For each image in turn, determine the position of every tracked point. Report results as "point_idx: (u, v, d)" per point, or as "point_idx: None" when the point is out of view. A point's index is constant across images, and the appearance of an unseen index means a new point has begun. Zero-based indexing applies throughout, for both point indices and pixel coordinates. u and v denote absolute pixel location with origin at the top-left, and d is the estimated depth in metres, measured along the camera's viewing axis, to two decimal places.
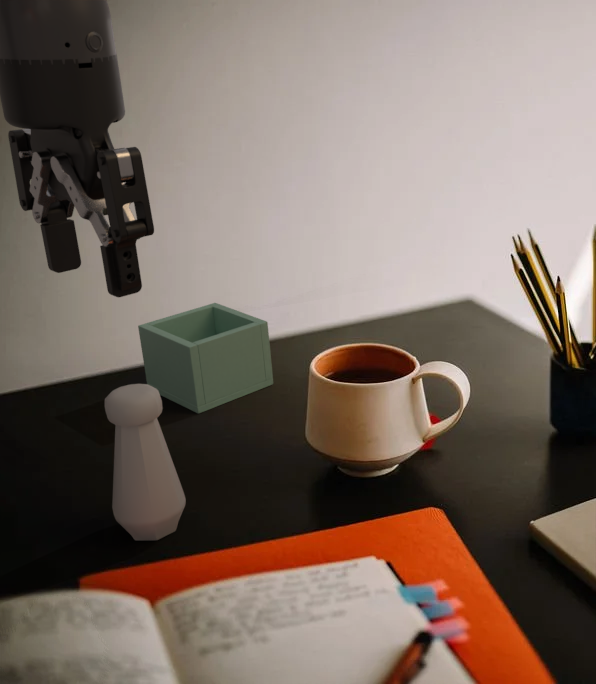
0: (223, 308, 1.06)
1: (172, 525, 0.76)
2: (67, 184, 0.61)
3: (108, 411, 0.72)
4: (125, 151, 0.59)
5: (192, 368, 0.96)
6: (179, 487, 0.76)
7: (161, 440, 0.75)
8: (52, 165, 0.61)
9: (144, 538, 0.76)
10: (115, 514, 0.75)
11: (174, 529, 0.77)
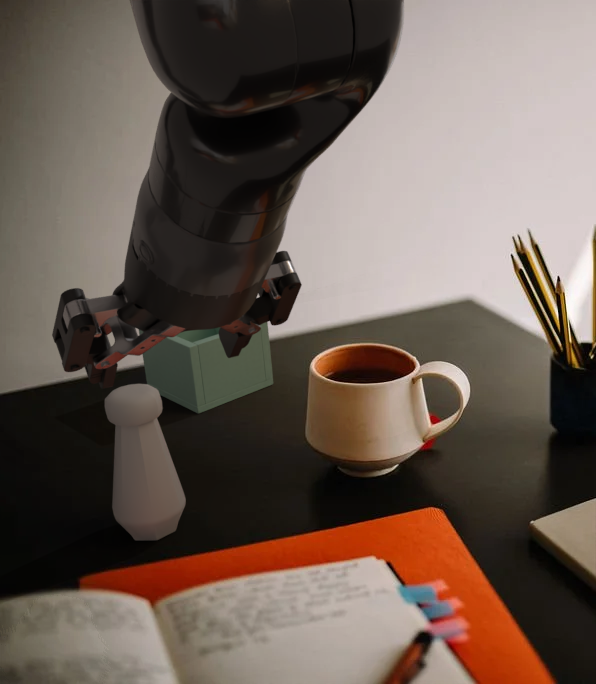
0: None
1: (172, 525, 0.76)
2: None
3: (108, 411, 0.72)
4: (73, 313, 0.50)
5: (192, 368, 0.96)
6: (179, 487, 0.76)
7: (161, 440, 0.75)
8: None
9: (144, 538, 0.76)
10: (115, 514, 0.75)
11: (174, 529, 0.77)
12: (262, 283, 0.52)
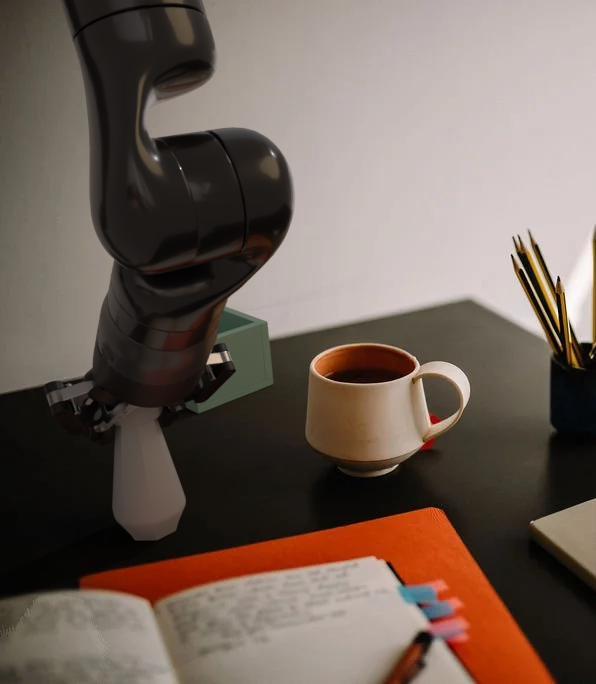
0: None
1: (172, 525, 0.76)
2: None
3: None
4: (51, 402, 0.64)
5: None
6: (179, 487, 0.76)
7: (161, 440, 0.75)
8: None
9: (144, 538, 0.76)
10: (115, 514, 0.75)
11: (174, 529, 0.77)
12: (203, 370, 0.65)
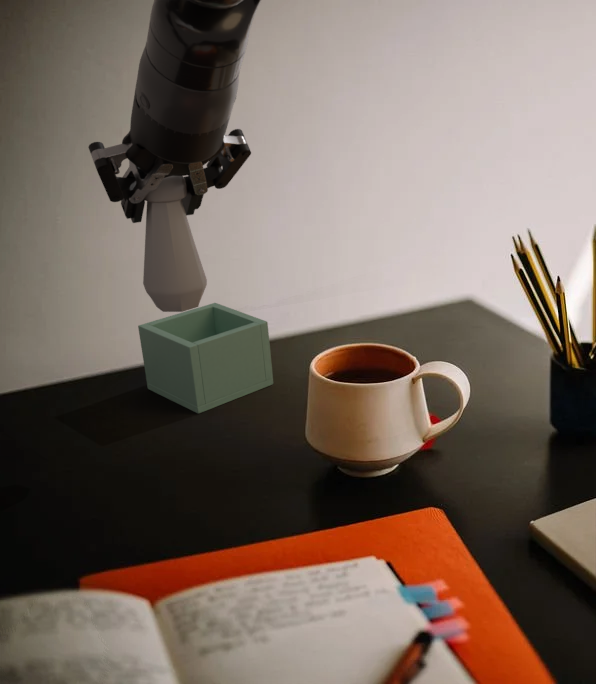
0: (223, 308, 1.06)
1: (195, 300, 0.88)
2: None
3: None
4: (95, 158, 0.76)
5: (192, 368, 0.96)
6: (201, 267, 0.88)
7: (186, 221, 0.86)
8: None
9: (171, 309, 0.87)
10: (146, 286, 0.86)
11: (197, 305, 0.88)
12: (224, 132, 0.76)
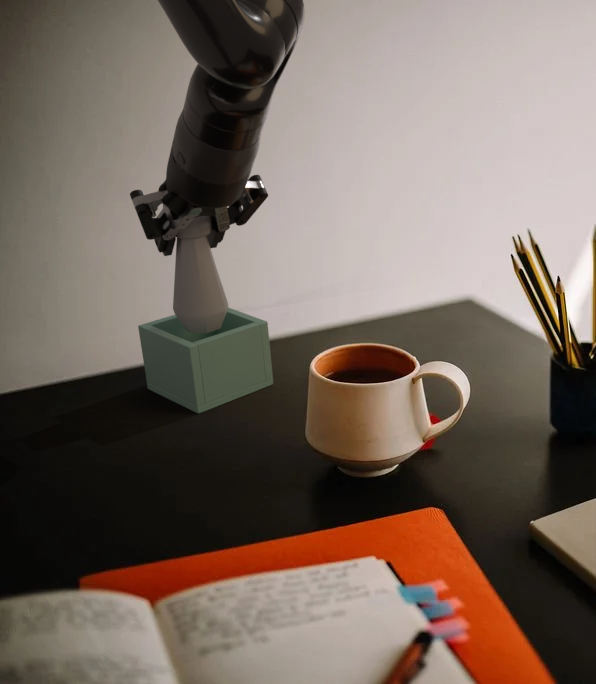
0: None
1: (218, 322, 1.00)
2: None
3: None
4: (136, 204, 0.88)
5: (192, 368, 0.96)
6: (223, 293, 1.00)
7: (210, 254, 0.98)
8: None
9: (197, 331, 0.99)
10: (176, 311, 0.99)
11: (220, 326, 1.01)
12: (246, 181, 0.89)
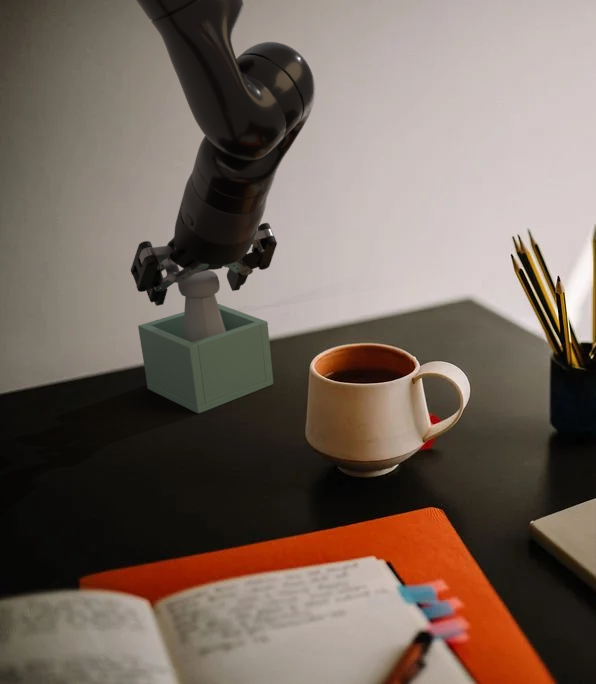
0: (223, 308, 1.06)
1: None
2: None
3: (181, 286, 0.98)
4: (146, 255, 0.89)
5: (192, 368, 0.96)
6: None
7: (218, 311, 1.01)
8: None
9: None
10: None
11: None
12: (253, 239, 0.91)
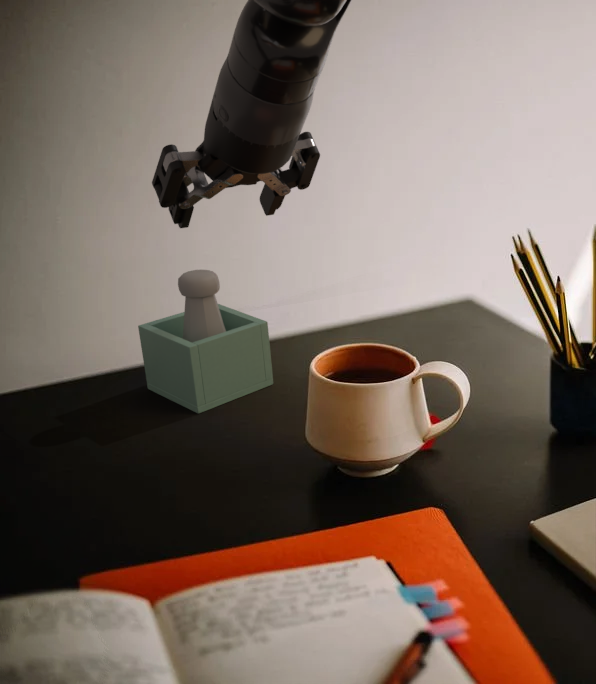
0: (223, 308, 1.06)
1: None
2: None
3: (181, 286, 0.98)
4: (171, 160, 0.76)
5: (192, 368, 0.96)
6: None
7: (218, 311, 1.01)
8: None
9: None
10: None
11: None
12: (295, 144, 0.78)
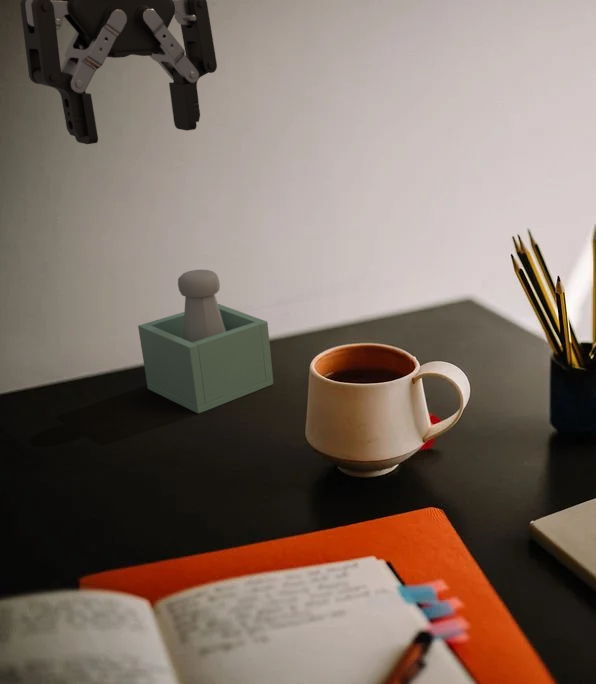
0: (223, 308, 1.06)
1: None
2: None
3: (181, 286, 0.98)
4: (32, 0, 0.63)
5: (192, 368, 0.96)
6: None
7: (218, 311, 1.01)
8: None
9: None
10: None
11: None
12: None
